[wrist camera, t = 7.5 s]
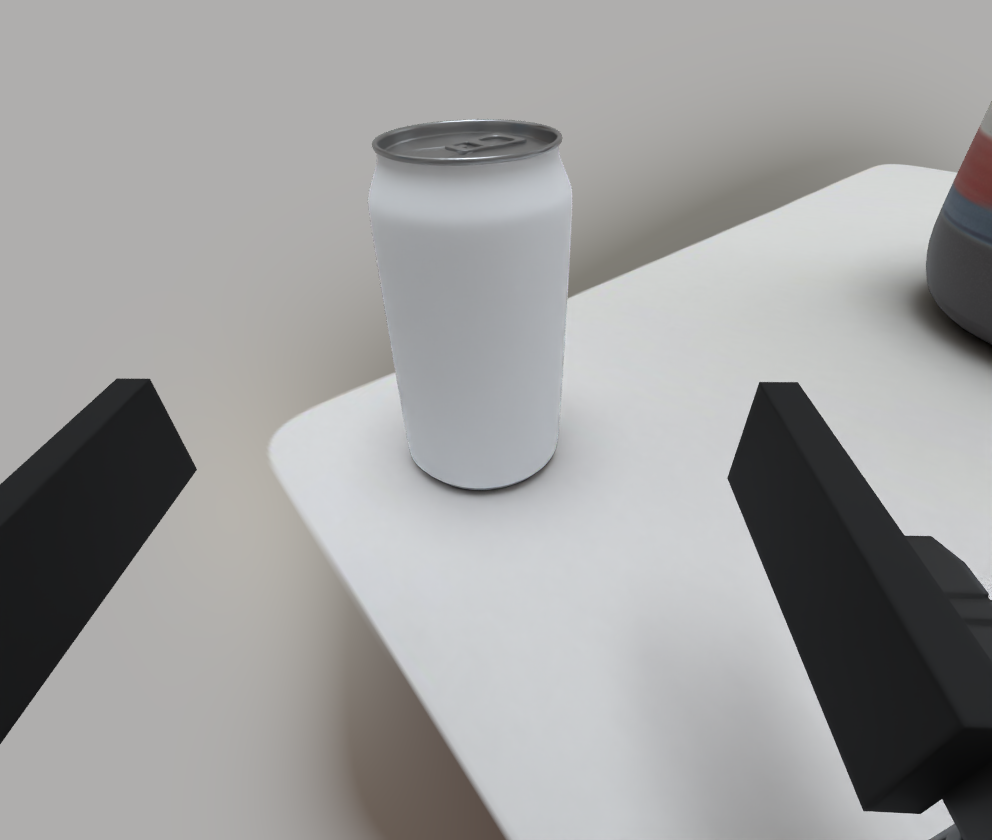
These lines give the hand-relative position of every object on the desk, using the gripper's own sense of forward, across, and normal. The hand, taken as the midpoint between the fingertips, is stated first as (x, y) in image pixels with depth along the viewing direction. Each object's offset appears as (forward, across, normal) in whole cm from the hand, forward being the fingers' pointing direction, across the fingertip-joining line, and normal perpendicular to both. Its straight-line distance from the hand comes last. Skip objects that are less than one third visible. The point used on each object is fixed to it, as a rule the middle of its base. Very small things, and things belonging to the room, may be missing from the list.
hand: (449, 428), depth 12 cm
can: (+8, 0, -8) cm, 11 cm away
